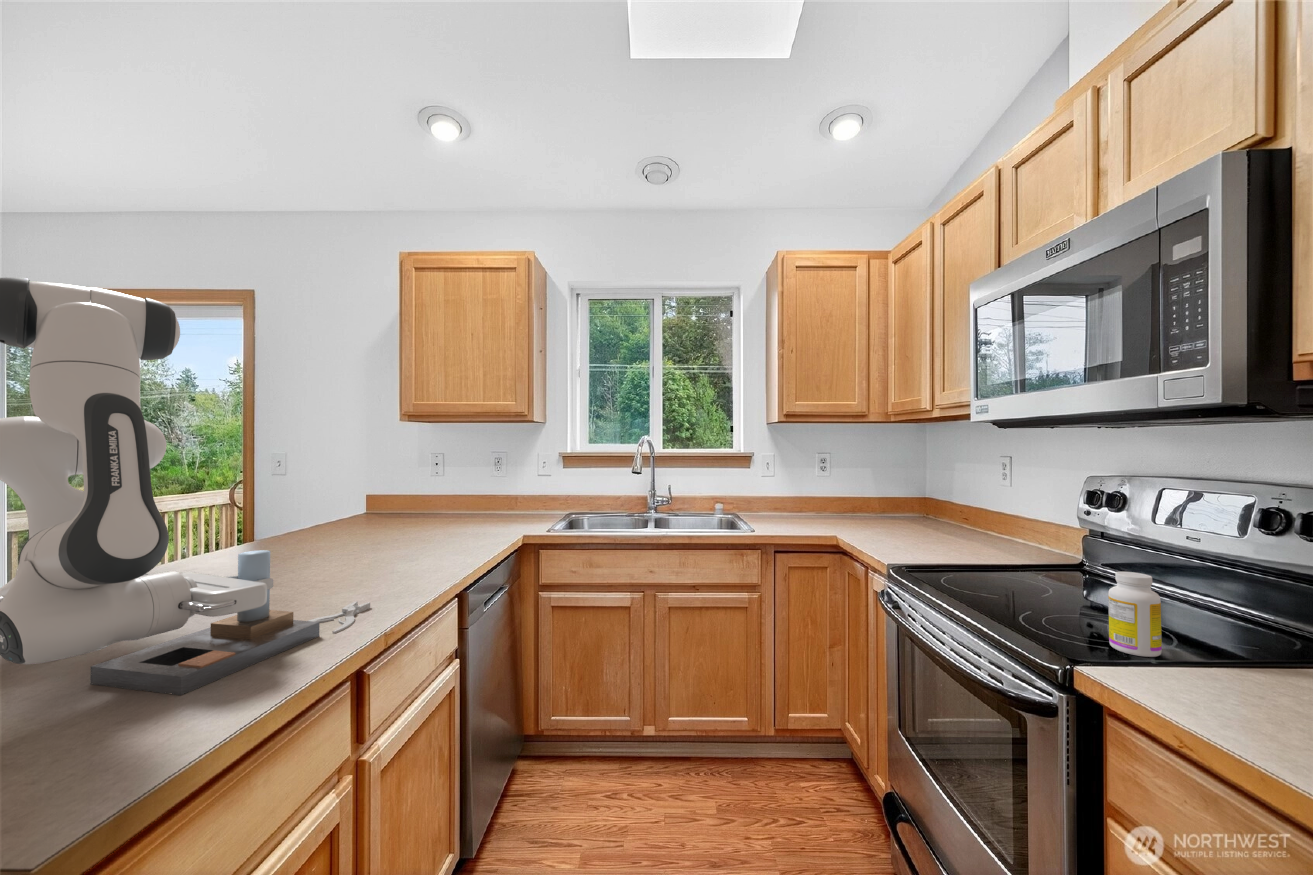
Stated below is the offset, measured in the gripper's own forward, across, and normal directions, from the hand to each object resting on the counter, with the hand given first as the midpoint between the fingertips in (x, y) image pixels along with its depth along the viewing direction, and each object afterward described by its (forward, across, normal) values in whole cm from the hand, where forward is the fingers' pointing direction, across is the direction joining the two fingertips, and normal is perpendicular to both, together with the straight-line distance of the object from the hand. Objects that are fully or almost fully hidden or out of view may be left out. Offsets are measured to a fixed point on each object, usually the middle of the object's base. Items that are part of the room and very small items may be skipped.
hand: (259, 580), depth 92 cm
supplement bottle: (+53, -140, +11) cm, 150 cm away
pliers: (+14, -2, +11) cm, 18 cm away
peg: (-1, 0, +6) cm, 6 cm away
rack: (-7, -1, +10) cm, 13 cm away
